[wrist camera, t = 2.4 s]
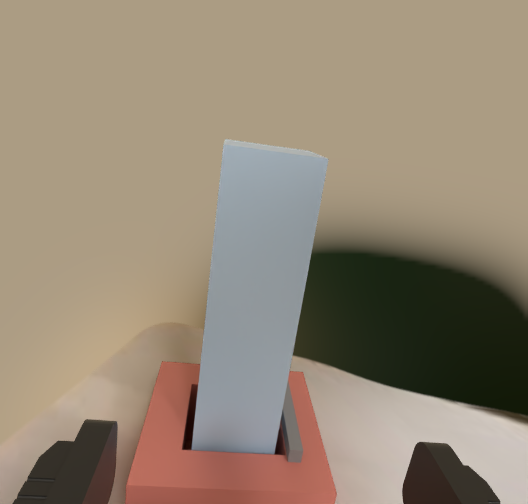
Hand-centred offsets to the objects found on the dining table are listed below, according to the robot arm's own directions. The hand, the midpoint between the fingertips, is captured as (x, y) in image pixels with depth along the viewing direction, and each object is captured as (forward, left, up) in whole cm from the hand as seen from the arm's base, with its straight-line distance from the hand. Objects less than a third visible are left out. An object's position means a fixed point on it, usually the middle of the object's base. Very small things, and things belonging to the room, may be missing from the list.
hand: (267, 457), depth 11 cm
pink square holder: (-8, -8, -13) cm, 17 cm away
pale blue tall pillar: (-8, -8, -13) cm, 17 cm away
